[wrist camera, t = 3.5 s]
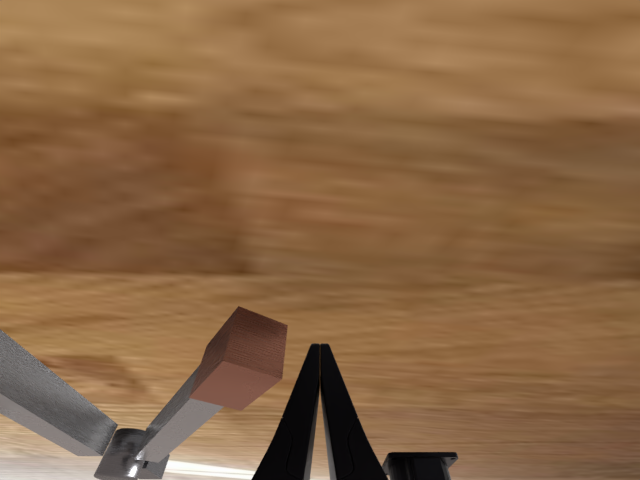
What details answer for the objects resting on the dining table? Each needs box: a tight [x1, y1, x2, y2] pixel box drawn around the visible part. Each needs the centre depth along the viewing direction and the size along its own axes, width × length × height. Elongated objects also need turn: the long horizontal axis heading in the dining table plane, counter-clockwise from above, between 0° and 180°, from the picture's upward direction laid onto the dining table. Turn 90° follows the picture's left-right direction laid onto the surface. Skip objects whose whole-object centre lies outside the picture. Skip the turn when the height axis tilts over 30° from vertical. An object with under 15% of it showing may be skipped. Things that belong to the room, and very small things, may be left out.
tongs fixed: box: [0, 329, 170, 479], centre depth 18 cm, size 26×4×3 cm, turn 0°
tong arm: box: [94, 306, 288, 480], centre depth 17 cm, size 22×4×3 cm, turn 145°
